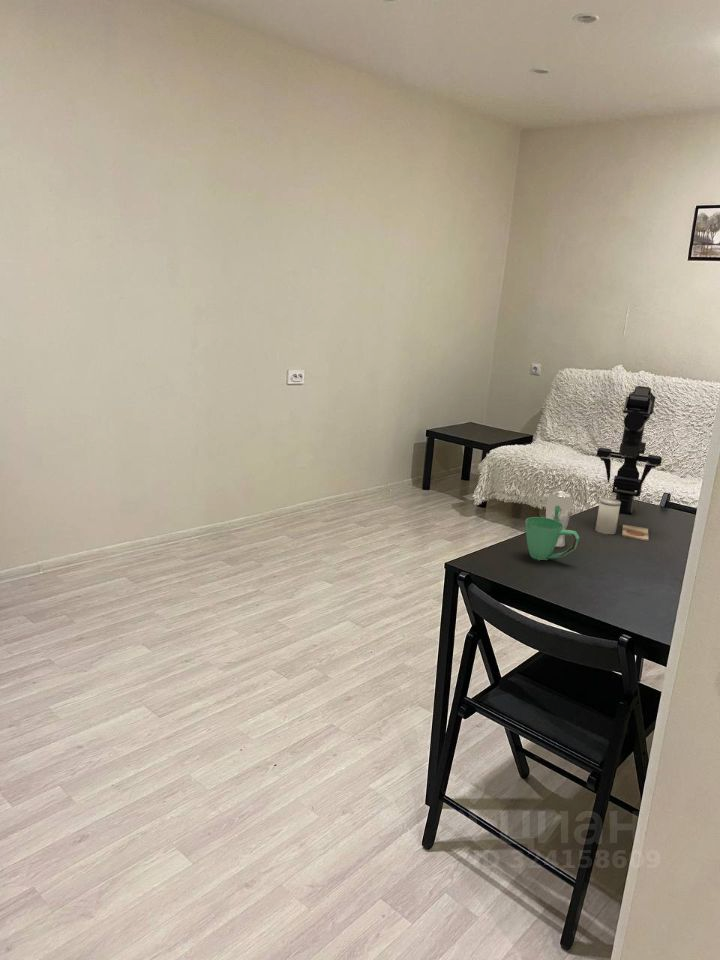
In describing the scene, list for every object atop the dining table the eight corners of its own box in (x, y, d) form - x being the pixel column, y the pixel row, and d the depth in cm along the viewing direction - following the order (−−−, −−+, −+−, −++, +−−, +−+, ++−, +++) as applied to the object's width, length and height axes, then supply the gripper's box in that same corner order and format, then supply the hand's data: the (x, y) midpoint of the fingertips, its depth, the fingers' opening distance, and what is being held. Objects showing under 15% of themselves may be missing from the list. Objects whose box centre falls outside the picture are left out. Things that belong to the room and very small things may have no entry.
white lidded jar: (595, 527, 230) (600, 496, 227) (615, 530, 228) (621, 499, 225) (594, 532, 224) (599, 501, 222) (615, 535, 222) (620, 504, 220)
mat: (622, 525, 233) (623, 523, 233) (647, 530, 231) (648, 527, 230) (622, 536, 222) (622, 533, 222) (648, 540, 220) (648, 538, 219)
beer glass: (542, 538, 215) (549, 489, 211) (566, 542, 213) (574, 492, 209) (540, 545, 208) (547, 494, 205) (565, 549, 206) (572, 498, 203)
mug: (515, 557, 196) (520, 522, 194) (527, 548, 205) (532, 514, 202) (569, 571, 189) (575, 535, 187) (579, 561, 197) (585, 526, 195)
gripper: (599, 427, 220) (590, 478, 221) (665, 436, 214) (656, 488, 214) (602, 431, 231) (593, 480, 231) (665, 440, 224) (656, 490, 224)
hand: (623, 484), depth 225 cm, fingers open, 9 cm apart
